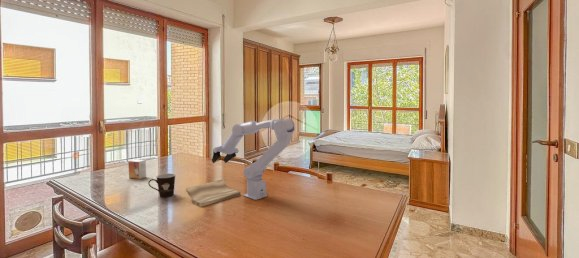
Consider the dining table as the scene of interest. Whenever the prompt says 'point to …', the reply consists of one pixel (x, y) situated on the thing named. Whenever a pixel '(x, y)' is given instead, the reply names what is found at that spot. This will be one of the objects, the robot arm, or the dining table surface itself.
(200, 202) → the laid boards
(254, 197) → the robot arm
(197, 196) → the plank
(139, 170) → the small box
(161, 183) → the coffee mug
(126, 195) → the dining table surface
